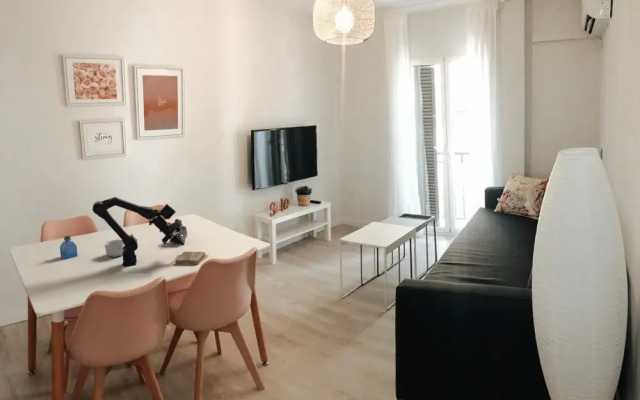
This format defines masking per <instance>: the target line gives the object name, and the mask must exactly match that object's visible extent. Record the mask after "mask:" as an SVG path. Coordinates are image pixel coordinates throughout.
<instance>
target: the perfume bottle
mask: <svg viewBox="0 0 640 400" xmlns="http://www.w3.org/2000/svg"><path fill="white" fill-rule="evenodd" d="M77 246H78V245H77V244H76V243H75V242H74V241H72V237H71V235H65V236H64V237H63V242H61V243H60V246H59V253H60V258H62V259H66V260H70V259H73V258H77V257H78V255H79V254H78V247H77Z"/></svg>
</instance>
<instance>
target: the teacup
mask: <svg viewBox="0 0 640 400" xmlns="http://www.w3.org/2000/svg"><path fill="white" fill-rule="evenodd" d="M124 246H125V245H124V243H123V241H122V239H119V238H117V239H114V240H110V241H109V240H108V241H106V242H105V243H104V248H105V254H106V255H107V256H109V257H112V258H116V257H121V256H123V255H122V253H123V249H122V248H123V247H124Z"/></svg>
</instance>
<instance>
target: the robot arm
mask: <svg viewBox="0 0 640 400" xmlns="http://www.w3.org/2000/svg"><path fill="white" fill-rule="evenodd" d="M115 206H116V207H118V208H121V209H124V210H128V211H130V212H133V213H136V214H138V215H139V216H141V217H142V218H145V219H146V220H148V226H152V225H154V226H155V227H156V228H157V229H158V230H159V233H162V234H163V235H164V237H162V239H161V242H162V243H163V244H164V245H165V244H166V243H168V242H169V243H172V244H174V243H176V244H175V245H180V246H185V243H183V241H182V239H181V237H180V230H181V229H182V227H181V225H183V223H182V222H183V221H182V220H181V219H179V218H176V219H174V221H173V222H171V221H168V222H167V220H171V218H172V217H173V216H174V215H175V214H176V213H177V211H176V210H175V209H174V208H173V207H172V206H171V205H169V204H168V203H165V204H164V206H163V207H162V208H161V209H156V208H155V209H154V208H153V207H152V206H151V207H150V206H144V205H138V204H136V203H132V202H130V201H127V200H124V199H121V198H120V197H117V196H113V197H111V198H108V199H104V200H102V201H100V200H98V201H97V200H96V201H95V202H94V203H93V205H92V212H93V213H94V214H95V215H97V216H98V217H99V218H101V219H102V220H103V221H105V223H106V224H107V225H108V226H109V227H110V228H111V229H112V230H113V232H114V233H116V235H117V236H118V237H119V238H120V240H122V241H123V243H124V245H125V246H124V247H123V248H122V249H123V253H122V255H121V256H122V267H129V266H137V263H138V260H137V254H136V251H137V250H138V248H139V245H138V239H137V238H136V237H135V236H134V234H133V233H131V234H128V233H127V232H126V230H124V228H123V227H122V226H121V225H120V224H119V223H118V222H117V220H116V219H115V218H114V217H113V216H112V214H110V212H109V209H110V208H113V207H115Z"/></svg>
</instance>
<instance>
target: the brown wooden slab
mask: <svg viewBox="0 0 640 400" xmlns="http://www.w3.org/2000/svg"><path fill="white" fill-rule="evenodd" d="M179 255H180V256H179V257H178V258H177V259H176V264H196V265H195V266H199V265H198V264H199V263H200V262H201V260H202V259H203V258H204V257H205V255H206V251H183V252H182V253H181V254H179Z"/></svg>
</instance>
